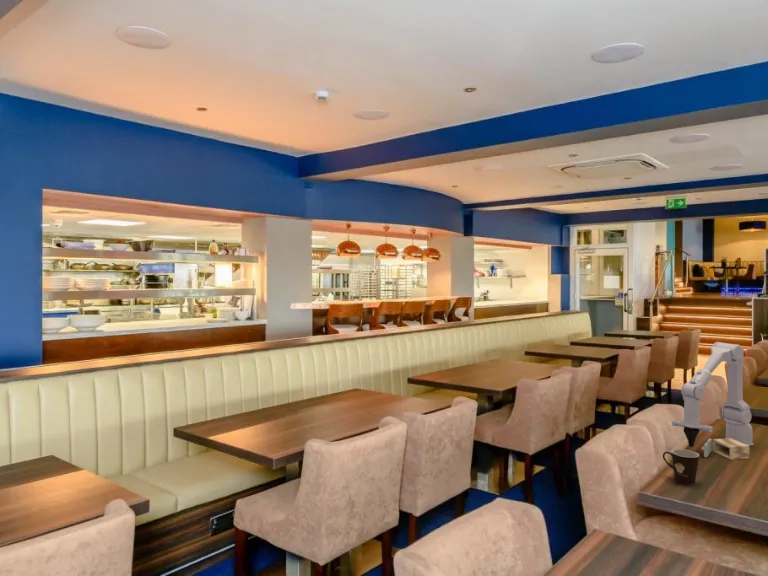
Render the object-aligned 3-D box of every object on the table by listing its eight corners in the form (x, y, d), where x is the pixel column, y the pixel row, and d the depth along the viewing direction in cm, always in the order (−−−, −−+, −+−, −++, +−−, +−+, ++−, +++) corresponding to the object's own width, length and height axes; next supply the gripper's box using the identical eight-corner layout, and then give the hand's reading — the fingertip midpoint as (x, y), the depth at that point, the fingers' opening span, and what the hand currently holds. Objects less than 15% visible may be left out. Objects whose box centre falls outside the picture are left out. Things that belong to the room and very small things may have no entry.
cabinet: (729, 450, 235) (729, 438, 235) (749, 458, 226) (749, 445, 225) (712, 451, 234) (712, 439, 234) (731, 459, 224) (731, 447, 224)
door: (712, 450, 234) (712, 438, 234) (706, 457, 226) (707, 444, 226) (706, 449, 235) (707, 437, 235) (701, 456, 227) (701, 443, 227)
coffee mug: (704, 485, 199) (705, 456, 199) (681, 486, 198) (682, 458, 197) (681, 472, 211) (682, 445, 210) (660, 474, 209) (660, 447, 209)
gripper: (670, 412, 233) (669, 445, 234) (710, 418, 224) (709, 452, 225) (674, 408, 239) (673, 440, 239) (714, 414, 229) (713, 448, 230)
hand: (691, 446), depth 232 cm, fingers closed
